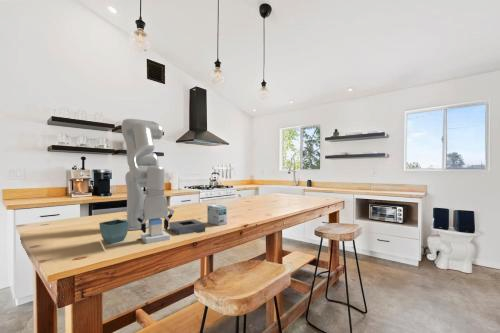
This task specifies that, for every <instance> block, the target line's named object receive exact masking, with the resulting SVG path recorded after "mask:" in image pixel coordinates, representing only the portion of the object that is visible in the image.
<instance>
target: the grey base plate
mask: <svg viewBox="0 0 500 333" xmlns="http://www.w3.org/2000/svg"><path fill="white" fill-rule="evenodd" d="M148 235H149V232H145V233H144V232H142V233H140V239H141V240H142V241H143V242H144V243H145V244H148V245H149V244H152V243H158V242H159V243H160V242H165V241H169V240H170V238H171V235H170V234H169V233H167V232H165V231H164V230H162V235H160V236H154V237H150V236H148Z"/></svg>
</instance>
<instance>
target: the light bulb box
mask: <svg viewBox="0 0 500 333" xmlns="http://www.w3.org/2000/svg"><path fill="white" fill-rule="evenodd" d="M206 212H207V218H206V219H207V224H210V225H211V224H212V225H216V226H222V225H227V224H228V206H227V205H222V204H216V203H215V204H208V205H207V211H206Z"/></svg>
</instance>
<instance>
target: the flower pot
mask: <svg viewBox="0 0 500 333" xmlns="http://www.w3.org/2000/svg"><path fill="white" fill-rule="evenodd" d="M98 225H99V231H100V235H101V237H102V239H103V241H104V242H105V243H107V244H111V245H113V244H117V243H121V242H123V241H125V239H126V237H127V235H128V231H129V230H128V225H129V222H128V221H123V220H122V219H112V220H108V221H103V222H99V224H98Z"/></svg>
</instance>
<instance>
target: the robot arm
mask: <svg viewBox="0 0 500 333" xmlns="http://www.w3.org/2000/svg"><path fill="white" fill-rule="evenodd" d="M163 131H164V130H163V128H162V126H161V125H160V124H159V123H158V122H156V121H153V120H146V119H145V120H144V119H138V118H137V119H136V118H126V119H123V120H122V122H121V133H122V136H123V139H124V142H125V146H126V148H125V149H126V160H127V165H128V167H129V171H127V172H126V174H125V177H124V178H125V185H126V219H121V220H123V221H128V222H129V225H128V231H136V230H137V231H139V230H141V232H142V233H147V231H146V230H147V228H149V222H148V223H147V221H148V220H149V219H157V218H160V219H163V229H165V230H168V229H169V222H170V219H171V218H172V217H173V216H174V213H175V210H174V209H172V208H169V206H168V200H167V199H168V198H167V196H166V195H165V168H164V167H163V166H159V160H158V156H157V154H156V153H155V152H154V150H155V143H154V140H158V141H159V140H161V139H162V138H163V135H164V132H163ZM142 188H146V190H145V191H144V190H143V189H142Z"/></svg>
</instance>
